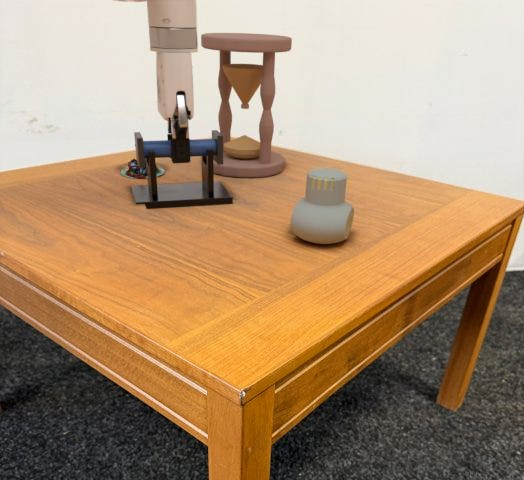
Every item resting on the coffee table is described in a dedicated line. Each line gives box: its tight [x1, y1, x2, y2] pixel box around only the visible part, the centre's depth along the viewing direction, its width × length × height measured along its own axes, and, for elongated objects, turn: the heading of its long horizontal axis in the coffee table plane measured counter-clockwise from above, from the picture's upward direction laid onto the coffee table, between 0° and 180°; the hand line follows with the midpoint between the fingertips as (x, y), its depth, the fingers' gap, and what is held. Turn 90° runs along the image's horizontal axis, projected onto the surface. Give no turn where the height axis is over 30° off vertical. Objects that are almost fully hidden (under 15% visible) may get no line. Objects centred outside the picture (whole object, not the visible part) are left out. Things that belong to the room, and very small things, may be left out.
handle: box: [133, 129, 223, 168], centre depth 96 cm, size 15×5×5 cm, turn 106°
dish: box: [120, 158, 166, 180], centre depth 113 cm, size 8×7×8 cm
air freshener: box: [290, 167, 355, 245], centre depth 83 cm, size 11×8×10 cm
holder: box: [130, 148, 234, 210], centre depth 98 cm, size 17×10×9 cm, turn 106°
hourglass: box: [200, 32, 293, 179], centre depth 113 cm, size 18×18×25 cm
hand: (179, 159), depth 97 cm, fingers closed on handle, 2 cm apart
